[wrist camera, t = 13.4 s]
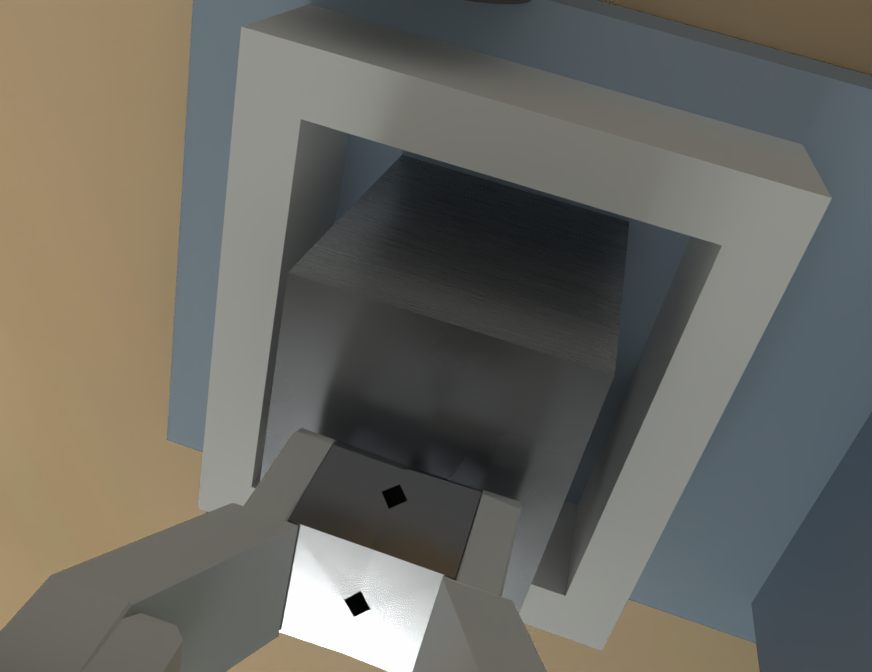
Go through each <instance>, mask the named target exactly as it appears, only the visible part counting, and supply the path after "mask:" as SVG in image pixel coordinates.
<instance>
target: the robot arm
mask: <svg viewBox="0 0 872 672" xmlns="http://www.w3.org/2000/svg"><path fill="white" fill-rule="evenodd" d="M481 492H482V490H479V489H476V488H473V487H470V486H467V485H464V484H461V483H458V482H455V481H452V480H449V479H446V478H443V477H440V476H437V475H434V474H431V473H428V472H425V471H422V470H419V469H416V468H413V467H410V466H407V465H405V464H402V463H399V462H396V461H394V460H391V459H388V458H385V457H383V456H380V455H377V454H374V453H372V452H369V451H366V450H363V449H361V448H358V447H355V446H353V445H350V444H347V443H344V442H342V441H339V440H338V441H336V440H334V439H331V438H329V437H326V436H323V435H320V434H318V433H315V432H312V431H309V430H307V429H304V428H300V429H299V430H297V431H296V432H294V433H293V434H292V436H291V437H290V439H289V440H288V442H287V443H286V444H285V446H284V447H283V449H282V450H281V452H280V453H279V455H278V456H277V458H276V459H275V461H274V462H273V464H272V465H271V466H270V468H269V469H268V471H267V472H266V474H265V475H264V477H263V478H262V480H261V481H260V483H259V484H258V486H257V487H256V488H255V490H254V491H253V493H252V494H251V496H250V497H249V499H248V500H247V502H246V503H245V505H244V506H241V505H238V504H235V503H230V504H228V505H225V506H223V507H220V508H218V509H215V510H213V511H210V512H208V513H205V514H203V515H200V516H198V517H195V518H193V519H190V520H188V521H185V522H183V523H180V524H178V525H175V526H173V527H170V528H168V529H165V530H163V531H160V532H158V533H155V534H153V535H150V536H148V537H145V538H143V539H140V540H138V541H135V542H133V543H130V544H128V545H125V546H123V547H120V548H118V549H115V550H113V551H110V552H108V553H105V554H103V555H100V556H98V557H95V558H93V559H90V560H88V561H85V562H83V563H80V564H78V565H75V566H73V567H70V568H68V569H65V570H63V571H60V572H58V573H55V574H53V575H51V576H50V577H49V578H48V579H47V580H46V581H45V582H44V583H43V585H42V586H41V587H40V588H39V589H38V590H37V591H36V592H35V593H34V595H33V596H32V597H31V598H30V599H29V600H28V601H27V602H26V604H25V605H24V606H23V607H22V608H21V609H20V610H19V611H18V612H17V614H16V615H15V616H14V617H13V618H12V619H11V620H10V621H9V622H8V624H7V625H6V626H5V627H4V628H3V629H2V630H1V631H0V672H226V671H227V670H229V669H230V668H232V667H233V666H235V665H236V664H238V663H239V662H241V661H242V660H244V659H245V658H246V657H248V656H249V655H251V654H252V653H254V652H255V651H257V650H258V649H260V648H261V647H263V646H264V645H266V644H267V643H269V642H270V641H272V640H273V639H275V638H276V637H278V635H279V632H281V633H284V634H287V635H290V636H293V637H296V638H299V639H302V640H305V641H308V642H311V643H314V644H317V645H320V646H323V647H326V648H329V649H332V650H335V651H338V652H341V653H344V654H346V655H349V656H351V657H354V658H357V659H359V660H362V661H364V662H367V663H369V664H372V665H374V666H377V667H379V668H382V669H384V670H387V671H389V672H546V670H545V667H544V665H543V663H542V661H541V659H540V657H539V655H538V653H537V651H536V648H535V646H534V644H533V642H532V640H531V638H530V636H529V634H528V631H527V629H526V627H525V625H524V623H523V621H522V619H521V617H520V615H519V612H518V610H517V608H516V606H515V604H514V602H513V601H512V600H509V599H506V598H503V597H502V593H503V589H504V584H505V580H506V575H507V571H508V566H509V562H510V557H511V553H512V548H513V544H514V540H515V535H516V531H517V526H518V522H519V517H520V513H521V508H522V507H521V503H520V501H517V500H514V499H510V498H507V497H504V496H501V495H498V494H495V493H491V492H488V491H485V490H483V492H482V494H481Z"/></svg>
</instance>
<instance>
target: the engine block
mask: <svg viewBox="0 0 872 672" xmlns="http://www.w3.org/2000/svg"><path fill="white" fill-rule="evenodd" d="M628 232H629V222H628V221H625V220H622V219H618V218H615V217H612V216H608V215H605V214H601V213H598V212H595V211H591V210H588V209H584V208H581V207H578V206H574V205H571V204H567V203H564V202H561V201H557V200H554V199H550V198H547V197H544V196H540V195H537V194H533V193H530V192H527V191H523V190H520V189H516V188H513V187H510V186H506V185H503V184H499V183H496V182H493V181H489V180H486V179H482V178H479V177H476V176H472V175H469V174H465V173H462V172H459V171H455V170H452V169H448V168H445V167H442V166H438V165H435V164H431V163H428V162H425V161H421V160H418V159H414V158H411V157H408V156H404V155H401V156H400V157H399V158H398V159H397V160H396V161H395V162H394V163H393V164H392V165H391V166H390V167H389V169H388V170H387V171H386V172H385V173H384V174H383V175H382V176H381V177H380V178H379V179H378V180H377V181H376V182H375V183H374V184H373V185H372V186H371V187H370V188H369V189H368V190H367V191H366V192H365V193H364V194H363V195H362V196H361V197H360V198H359V199H358V201H357V202H356V203H355V204H354V205H353V206H352V207H351V208H350V209H349V210H348V211H347V212H346V213H345V214H344V215H343V216H342V217H341V218H340V219H339V220H338V221H337V222H336V223H335V224H334V225H333V226H332V227H331V228H330V229H329V230H328V231H327V232H326V234H325V235H324V236H323V237H322V238H321V239H320V240H319V241H318V242H317V243H316V244H315V245H314V246H313V247H312V248H311V249H310V250H309V251H308V252H307V253H306V254H305V255H304V256H303V257H302V258H301V259H300V260H299V261H298V262H297V263H296V264H295V266H294V267H293V268H292V269H291V270H290V271H289V272H288V274H287V281H286V289H285V296H284V304H283V311H282V319H281V326H280V334H279V341H278V349H277V356H276V364H275V371H274V379H273V386H272V394H271V401H270V409H269V416H268V424H267V431H266V439H265V446H264V454H263V461H262V469H261V476H260V481H261V480H262V478H263V477H264V475H265V474H266V472H267V471H268V469H269V468H270V466H271V465H272V464H273V462H274V461H275V459H276V458H277V456H278V455H279V453H280V452H281V450H282V449H283V447H284V446H285V444H286V443H287V442H288V440H289V439H290V437H291V436H292V434H293V433H294V432H296V431H297V430H299V429H300V428H304V429H307V430H309V431H312V432H315V433H318V434H320V435H323V436H326V437H329V438H331V439H334V440H336V441H338V440H339V441H342V442H344V443H347V444H350V445H353V446H355V447H358V448H361V449H363V450H366V451H369V452H372V453H374V454H377V455H380V456H383V457H385V458H388V459H391V460H394V461H396V462H399V463H402V464H405V465H407V466H410V467H413V468H416V469H419V470H422V471H425V472H428V473H431V474H434V475H437V476H440V477H443V478H446V479H449V480H452V481H455V482H458V483H461V484H464V485H467V486H470V487H473V488H476V489H479V490H482V492H483V490H485V491H488V492H491V493H495V494H498V495H501V496H504V497H507V498H510V499H514V500H517V501H520V503H521V507H522V508H521V513H520V517H519V522H518V526H517V531H516V535H515V540H514V544H513V548H512V553H511V557H510V562H509V566H508V571H507V575H506V580H505V584H504V589H503V593H502V597H503V598H506V599H509V600H512V601H513V602H514V604H515V606H516V608H517V610H518V612H519V613H520V611H521V608H522V606H523V603H524V601H525V598H526V596H527V593H528V591H529V588H530V586H531V583H532V581H533V578H534V576H535V573H536V571H537V568H538V566H539V563H540V561H541V558H542V556H543V553H544V551H545V548H546V546H547V543H548V541H549V538H550V536H551V533H552V531H553V528H554V526H555V523H556V521H557V518H558V516H559V513H560V511H561V508H562V506H563V503H564V501H565V498H566V496H567V493H568V491H569V488H570V486H571V483H572V481H573V478H574V476H575V473H576V471H577V468H578V466H579V463H580V461H581V458H582V456H583V453H584V451H585V448H586V446H587V443H588V441H589V438H590V436H591V433H592V431H593V428H594V426H595V423H596V421H597V418H598V416H599V413H600V411H601V408H602V406H603V403H604V401H605V398H606V396H607V393H608V391H609V388H610V386H611V383H612V381H613V378H614V376H615V367H616V357H617V346H618V336H619V326H620V315H621V305H622V294H623V284H624V274H625V263H626V253H627V242H628ZM482 492H481V494H482Z"/></svg>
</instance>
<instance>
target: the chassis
mask: <svg viewBox="0 0 872 672" xmlns="http://www.w3.org/2000/svg"><path fill="white" fill-rule="evenodd" d="M401 155H404V156H408V157H411V158H414V159H418V160H421V161H425V162H428V163H431V164H435V165H438V166H442V167H445V168H448V169H452V170H455V171H459V172H462V173H465V174H469V175H472V176H476V177H479V178H482V179H486V180H489V181H493V182H496V183H499V184H503V185H506V186H510V187H513V188H516V189H520V190H523V191H527V192H530V193H533V194H537V195H540V196H544V197H547V198H550V199H554V200H557V201H561V202H564V203H567V204H571V205H574V206H578V207H581V208H584V209H588V210H591V211H595V212H598V213H601V214H605V215H608V216H612V217H615V218H618V219H622V220H625V221H628V222H629V232H628V242H627V253H626V263H625V274H624V284H623V294H622V305H621V315H620V326H619V336H618V346H617V357H616V367H615V376H614V378H613V381H612V383H611V386H610V388H609V391H608V393H607V396H606V398H605V401H604V403H603V406H602V408H601V411H600V413H599V416H598V418H597V421H596V423H595V426H594V428H593V431H592V433H591V436H590V438H589V441H588V443H587V446H586V448H585V451H584V453H583V456H582V458H581V461H580V463H579V466H578V468H577V471H576V473H575V476H574V478H573V481H572V483H571V486H570V488H569V491H568V493H567V496H566V498H565V501H564V503H563V506H562V508H561V511H560V513H559V516H558V518H557V521H556V523H555V526H554V528H553V531H552V533H551V536H550V538H549V541H548V543H547V546H546V548H545V551H544V553H543V556H542V558H541V561H540V563H539V566H538V568H537V571H536V573H535V576H534V578H533V581H532V583H531V586H530V588H529V591H528V593H527V596H526V598H525V601H524V603H523V606H522V608H521V611H520V613H519V615H520V617H521V619H522V621H523V623H524V624H527V625H530V626H533V627H536V628H538V629H541V630H544V631H547V632H550V633H553V634H555V635H558V636H561V637H564V638H567V639H570V640H572V641H575V642H578V643H581V644H584V645H587V646H589V647H592V648H595V649H598V650H601V651H602V650H603V648H604V646H605V644H606V642H607V640H608V638H609V636H610V634H611V632H612V630H613V628H614V626H615V624H616V623H617V621H618V619H619V617H620V615H621V613H622V611H623V609H624V607H625V605H626V603H627V601H628V599H629V600H632V601H635V602H638V603H641V604H644V605H647V606H650V607H652V608H655V609H658V610H661V611H664V612H667V613H670V614H673V615H676V616H678V617H681V618H684V619H687V620H690V621H693V622H696V623H699V624H702V625H705V626H707V627H710V628H713V629H716V630H719V631H722V632H725V633H728V634H731V635H733V636H736V637H739V638H742V639H745V640H748V641H751V642H754V643H756V645H757V653H758V661H759V669H760V672H872V75H868V74H865V73H861V72H857V71H854V70H850V69H846V68H843V67H839V66H835V65H832V64H828V63H825V62H821V61H817V60H814V59H810V58H806V57H803V56H799V55H795V54H792V53H788V52H785V51H781V50H777V49H774V48H770V47H766V46H763V45H759V44H755V43H752V42H748V41H745V40H741V39H737V38H734V37H730V36H726V35H723V34H719V33H715V32H712V31H708V30H705V29H701V28H697V27H694V26H690V25H686V24H683V23H679V22H675V21H672V20H668V19H665V18H661V17H657V16H654V15H650V14H646V13H643V12H639V11H635V10H632V9H628V8H625V7H621V6H617V5H614V4H610V3H606V2H603V1H599V0H193V12H192V29H191V46H190V62H189V79H188V96H187V113H186V130H185V147H184V163H183V180H182V197H181V214H180V231H179V248H178V264H177V281H176V298H175V315H174V332H173V349H172V365H171V382H170V399H169V416H168V433H167V440H169V441H172V442H175V443H178V444H180V445H183V446H186V447H189V448H192V449H195V450H198V451H201V452H203V457H202V468H201V479H200V490H199V502H198V509H201V510H204V511H207V513H208V512H210V511H213V510H215V509H218V508H220V507H223V506H225V505H228V504H230V503H235V504H238V505H241V506H244V505H245V503H246V502H247V500H248V499H249V497H250V496H251V494H252V493H253V491H254V490H255V488H256V487H257V486H258V484H259V483H260V476H261V469H262V461H263V454H264V446H265V439H266V431H267V424H268V416H269V409H270V401H271V394H272V386H273V379H274V371H275V364H276V356H277V349H278V341H279V334H280V326H281V319H282V311H283V304H284V296H285V289H286V281H287V274H288V272H289V271H290V270H291V269H292V268H293V267H294V266H295V264H296V263H297V262H298V261H299V260H300V259H301V258H302V257H303V256H304V255H305V254H306V253H307V252H308V251H309V250H310V249H311V248H312V247H313V246H314V245H315V244H316V243H317V242H318V241H319V240H320V239H321V238H322V237H323V236H324V235H325V234H326V232H327V231H328V230H329V229H330V228H331V227H332V226H333V225H334V224H335V223H336V222H337V221H338V220H339V219H340V218H341V217H342V216H343V215H344V214H345V213H346V212H347V211H348V210H349V209H350V208H351V207H352V206H353V205H354V204H355V203H356V202H357V201H358V199H359V198H360V197H361V196H362V195H363V194H364V193H365V192H366V191H367V190H368V189H369V188H370V187H371V186H372V185H373V184H374V183H375V182H376V181H377V180H378V179H379V178H380V177H381V176H382V175H383V174H384V173H385V172H386V171H387V170H388V169H389V167H390V166H391V165H392V164H393V163H394V162H395V161H396V160H397V159H398V158H399V157H400V156H401Z"/></svg>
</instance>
